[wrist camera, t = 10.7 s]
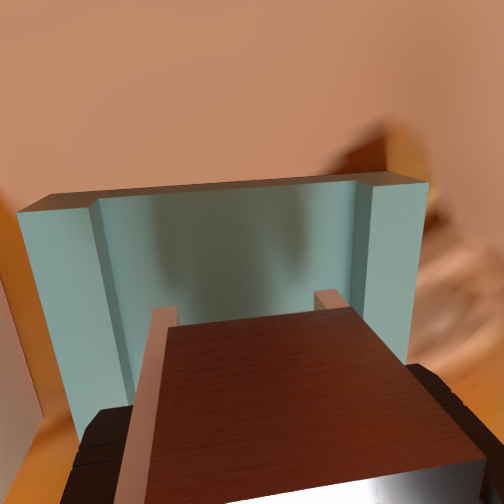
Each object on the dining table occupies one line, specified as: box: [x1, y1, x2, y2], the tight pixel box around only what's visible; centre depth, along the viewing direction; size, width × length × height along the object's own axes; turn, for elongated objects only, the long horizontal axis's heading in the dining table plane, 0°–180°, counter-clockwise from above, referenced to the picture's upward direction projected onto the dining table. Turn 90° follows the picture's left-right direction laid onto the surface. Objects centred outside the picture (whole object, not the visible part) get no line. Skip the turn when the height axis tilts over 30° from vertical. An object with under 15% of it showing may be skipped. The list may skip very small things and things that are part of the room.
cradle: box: [16, 171, 429, 443], centre depth 16 cm, size 18×13×3 cm
